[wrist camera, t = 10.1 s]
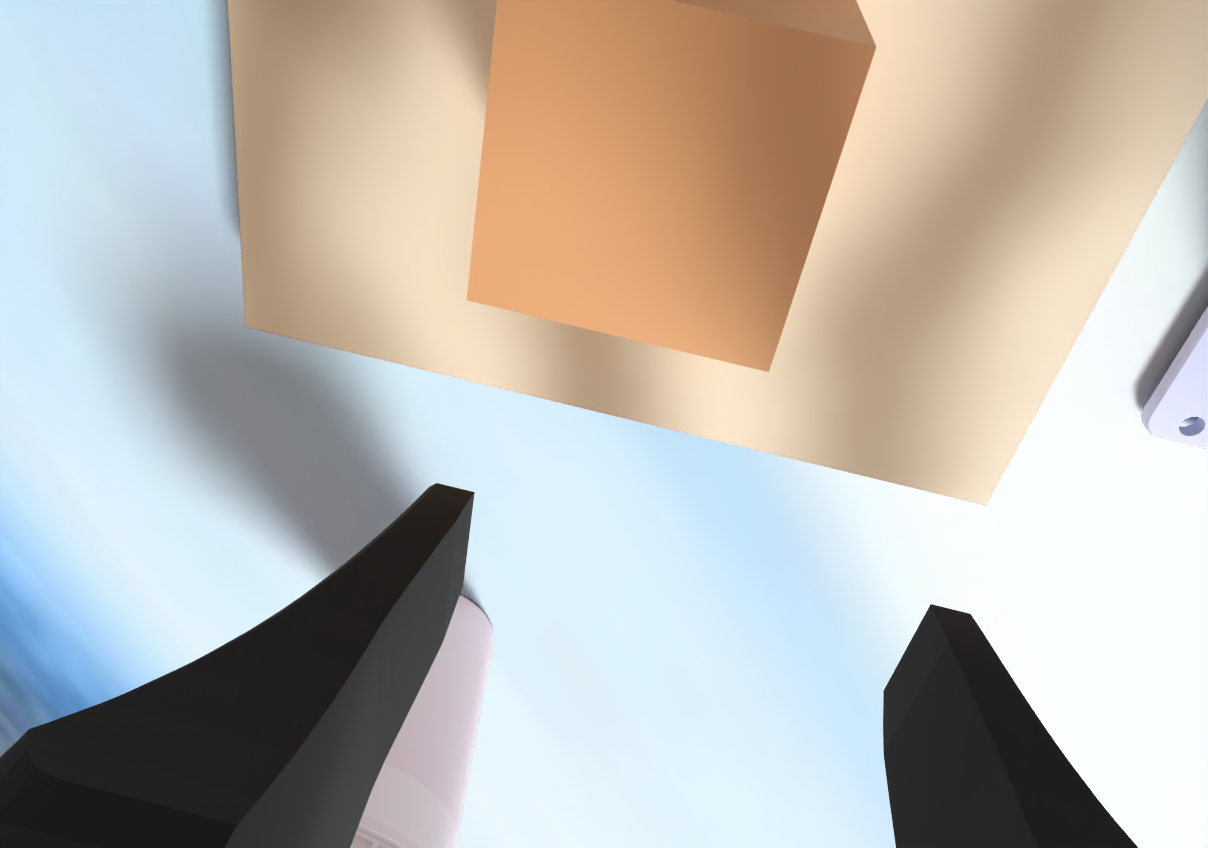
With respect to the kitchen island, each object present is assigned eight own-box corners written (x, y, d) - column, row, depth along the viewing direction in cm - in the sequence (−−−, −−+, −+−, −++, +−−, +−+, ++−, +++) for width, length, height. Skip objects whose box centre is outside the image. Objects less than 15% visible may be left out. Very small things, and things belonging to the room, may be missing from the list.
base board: (1315, -215, 15) (1381, -220, 13) (971, 456, 23) (986, 505, 21) (263, -437, 16) (202, -469, 14) (282, 291, 23) (245, 327, 22)
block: (851, -11, 16) (876, 46, 12) (771, 251, 19) (769, 372, 15) (572, -74, 16) (500, -38, 12) (534, 196, 19) (466, 300, 15)
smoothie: (304, 599, 30) (3, 1089, 18) (444, 522, 27) (192, 1046, 15) (434, 717, 32) (240, 1219, 20) (575, 658, 29) (442, 1202, 18)
